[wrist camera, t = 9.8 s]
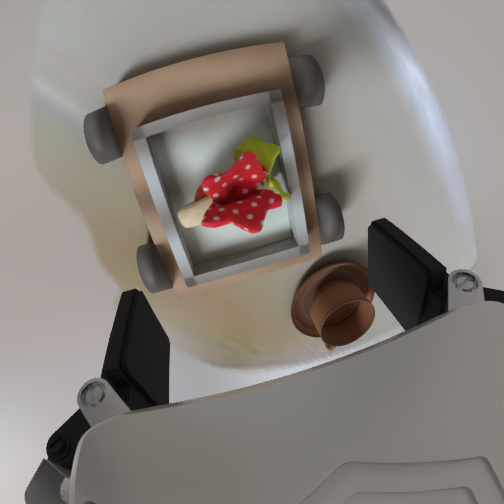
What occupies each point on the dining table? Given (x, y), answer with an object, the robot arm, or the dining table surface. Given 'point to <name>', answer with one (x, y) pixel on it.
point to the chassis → (216, 161)
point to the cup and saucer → (334, 304)
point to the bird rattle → (238, 191)
